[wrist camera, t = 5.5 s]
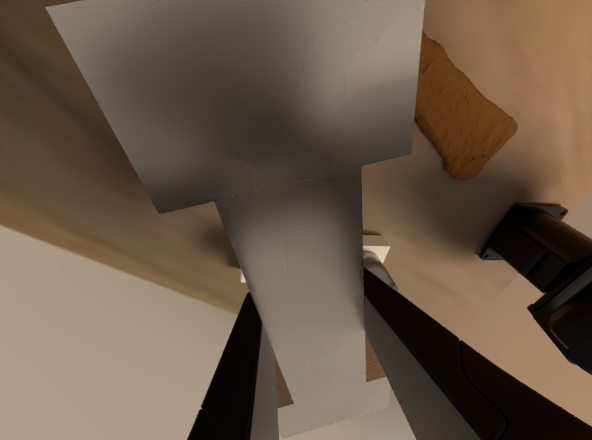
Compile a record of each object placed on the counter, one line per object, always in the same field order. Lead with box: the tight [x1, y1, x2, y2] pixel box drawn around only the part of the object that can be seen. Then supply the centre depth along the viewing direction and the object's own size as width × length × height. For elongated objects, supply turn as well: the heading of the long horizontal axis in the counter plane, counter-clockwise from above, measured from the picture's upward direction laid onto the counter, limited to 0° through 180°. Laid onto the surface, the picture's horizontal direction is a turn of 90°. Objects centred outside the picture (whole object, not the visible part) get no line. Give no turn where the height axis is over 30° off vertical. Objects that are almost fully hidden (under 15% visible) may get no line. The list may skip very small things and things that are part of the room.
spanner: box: [45, 0, 425, 439], centre depth 9 cm, size 5×15×2 cm, turn 9°
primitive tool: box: [415, 30, 518, 180], centre depth 17 cm, size 19×6×4 cm, turn 56°
